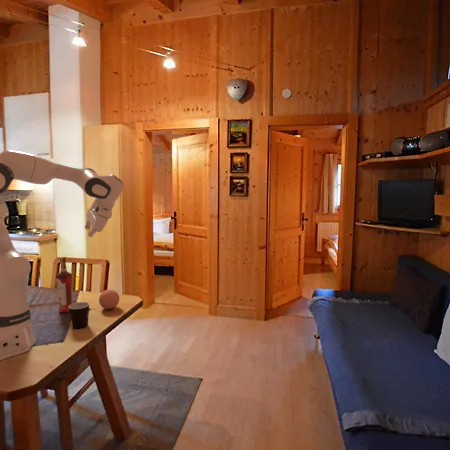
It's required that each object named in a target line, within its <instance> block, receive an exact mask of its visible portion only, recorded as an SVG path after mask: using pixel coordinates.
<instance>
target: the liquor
mask: <svg viewBox="0 0 450 450" xmlns="http://www.w3.org/2000/svg"><path fill="white" fill-rule="evenodd" d="M59 262H60V270H59V273H57V274H55V279H56V288H57V297H58V306H59V307H58V311H59V312H60V313H62V314H63V313H64V314H65V313H66V314H67V313H70V312H69V306H70V305H71V304H73V273H71V272H69V271H68V268H67V257H66V256H60V257H59Z"/></svg>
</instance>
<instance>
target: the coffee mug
mask: <svg viewBox="0 0 450 450" xmlns="http://www.w3.org/2000/svg"><path fill="white" fill-rule="evenodd" d="M89 308H90V303H89V302H86V301H80V302H74V303H72V304H71V305H70V306H69V312H68V313H69V318H70V321H71V326H72V329H73V330H77V331H78V330H83V329H86V328H87V327H88V326H89V314H90V313H89V312H90V310H89Z"/></svg>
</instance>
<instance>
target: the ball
mask: <svg viewBox="0 0 450 450" xmlns="http://www.w3.org/2000/svg"><path fill="white" fill-rule="evenodd" d="M98 302H99V305H100V306H101V307H102V308H103V309H105V310H112V309H115V307H117V305H118V304H119V303H120V295H119V293H118V292H117V291H116V290H114V289H110V288H109V289H105V290H104V291H102V292H101V294H100V295H99V297H98Z"/></svg>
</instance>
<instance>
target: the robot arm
mask: <svg viewBox="0 0 450 450" xmlns="http://www.w3.org/2000/svg"><path fill="white" fill-rule="evenodd" d="M53 179H58V180H63V181H67V182H71V183H74V184H76V185H77V186H79V188H81V189H82V191H83V192H84V193H85V194H86V195H87V196H88V197H91V198H95V199H94V200H93V202H92V204H91V206H90V207H89V209H88V211H87V213H86V215H85V216H86V218H87V220H86V222H85V225H84V229H85V230H87V231H88V230H89V229H91V230H90V231H88V234H87V236H88V237H89V238H92V237H94V235H95V234H96V233H100V232H102V231H103V230H104V228H105V226H106V225H107V224H108V221H109V219H111V218H112V216H113V213H112V212H113V208H114V207H115V204H116V201H117V200H119V197H120V196H121V193H122V191H123V189H124V185H125V184H124V182H123V181H122V180H121V179H120V178H119V177H117V176H116V175H114V174H113V173H111V174H110V175H109V174H108V175H98V173H97V172H96V170H94V169H93V168H90V167H79V168H78V167H77V168H76V167H70V166H67V165H63V164H59V163H55V162H53V161H51V160H48V159H46V158H43V157H40V156H37V155H34V154H30V153H27V152H22V151H16V150H11V149H10V150H9V149H6V150H4V151H2V152H0V195H2V194H3V193H5V192H6V191H7V190H8V188H9V187H10V185H11V183H12V182H13V180H16V181H21V182H25V183H30V184H35V185H46V184H48V183H50V182H51V181H53ZM9 233H10V232H9V231H8V229H7V227H6V225H5V224H4V222H3V220H2V218H1V217H0V361H3V360H5V359H8V358H12V357H14V356H17V355H21V354H23V353H26V352H28V351H30V350H31V347H33V345H35V343H36V340H37V339H36V338H35V335H34V332H33V330H32V325H31V324H32V323H31V316H32V315H31V309H30V307H29V297H28V284H29V277H30V276H29V275H30V272H31V270H32V269H31V268H32V266H31V263H30V260H29V259H28V257H27V256H26V255H24V254H23V253H20V252H19V251H18V250H16V247H15V246H14V244H13V241H12V239H11V236H10V234H9ZM11 356H12V357H11Z"/></svg>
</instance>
